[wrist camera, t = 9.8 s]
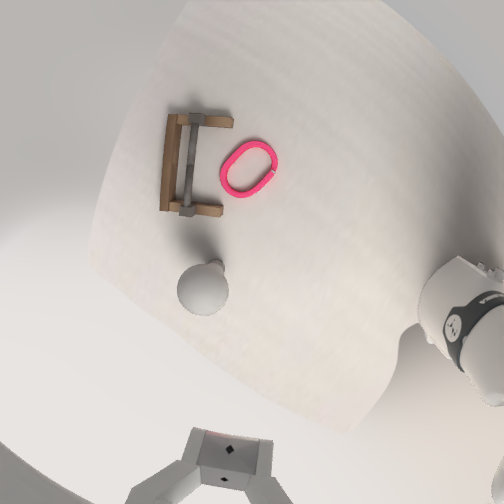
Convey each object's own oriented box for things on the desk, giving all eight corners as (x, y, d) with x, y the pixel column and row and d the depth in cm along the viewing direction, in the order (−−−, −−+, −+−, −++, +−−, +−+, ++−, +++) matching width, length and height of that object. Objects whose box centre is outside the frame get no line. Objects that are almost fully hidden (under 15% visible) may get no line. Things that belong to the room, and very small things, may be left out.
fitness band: (243, 206, 38) (242, 207, 36) (212, 176, 37) (210, 177, 36) (286, 163, 35) (287, 163, 34) (254, 132, 35) (253, 131, 33)
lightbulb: (192, 249, 40) (162, 279, 30) (233, 242, 39) (215, 273, 29) (202, 287, 42) (178, 327, 32) (242, 282, 41) (228, 323, 31)
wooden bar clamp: (233, 119, 34) (227, 114, 30) (222, 214, 38) (215, 220, 34) (175, 116, 34) (163, 112, 31) (166, 207, 39) (154, 212, 35)
